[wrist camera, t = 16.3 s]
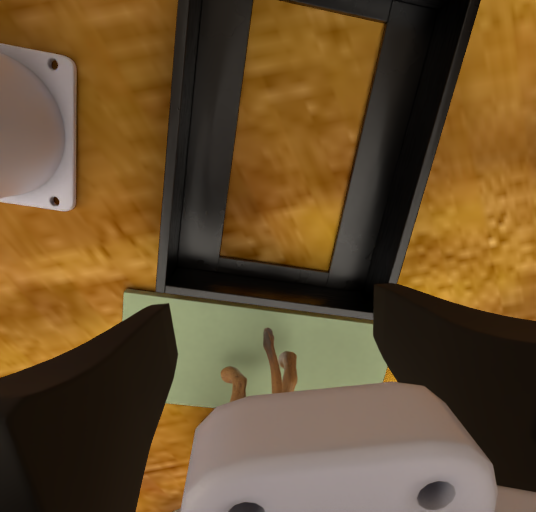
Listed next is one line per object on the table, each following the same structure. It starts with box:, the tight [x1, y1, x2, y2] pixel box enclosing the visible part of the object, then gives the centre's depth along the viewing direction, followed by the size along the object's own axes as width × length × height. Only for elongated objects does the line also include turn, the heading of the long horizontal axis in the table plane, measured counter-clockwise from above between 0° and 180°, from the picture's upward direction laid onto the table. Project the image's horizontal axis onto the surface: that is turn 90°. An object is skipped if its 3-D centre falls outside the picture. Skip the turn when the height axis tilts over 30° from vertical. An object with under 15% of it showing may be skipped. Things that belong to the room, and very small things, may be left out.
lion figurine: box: [221, 328, 298, 402], centre depth 20 cm, size 15×5×9 cm, turn 167°
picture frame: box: [155, 0, 481, 320], centre depth 18 cm, size 13×17×3 cm
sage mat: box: [122, 289, 388, 408], centre depth 23 cm, size 18×8×1 cm, turn 80°
